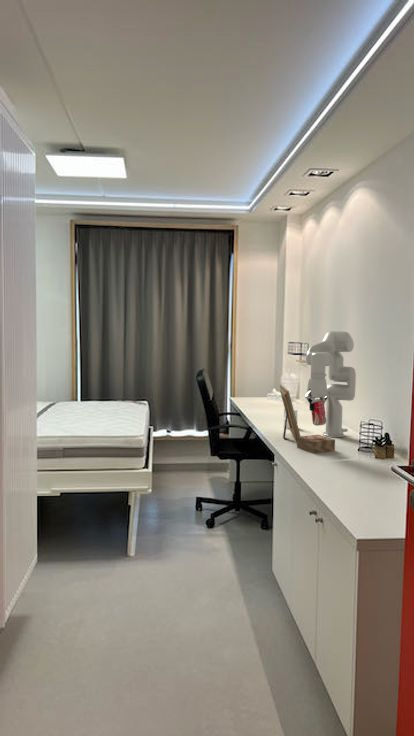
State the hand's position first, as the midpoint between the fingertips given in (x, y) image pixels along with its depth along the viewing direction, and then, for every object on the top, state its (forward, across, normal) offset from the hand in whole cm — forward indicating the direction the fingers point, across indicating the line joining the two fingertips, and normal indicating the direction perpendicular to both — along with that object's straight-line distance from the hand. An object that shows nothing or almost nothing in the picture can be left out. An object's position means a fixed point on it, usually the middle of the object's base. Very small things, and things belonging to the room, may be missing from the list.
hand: (316, 409), depth 282 cm
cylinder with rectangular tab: (+21, -24, -56) cm, 65 cm away
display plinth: (+21, 0, 0) cm, 21 cm away
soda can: (+8, -2, 0) cm, 8 cm away
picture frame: (+21, -3, -28) cm, 36 cm away
